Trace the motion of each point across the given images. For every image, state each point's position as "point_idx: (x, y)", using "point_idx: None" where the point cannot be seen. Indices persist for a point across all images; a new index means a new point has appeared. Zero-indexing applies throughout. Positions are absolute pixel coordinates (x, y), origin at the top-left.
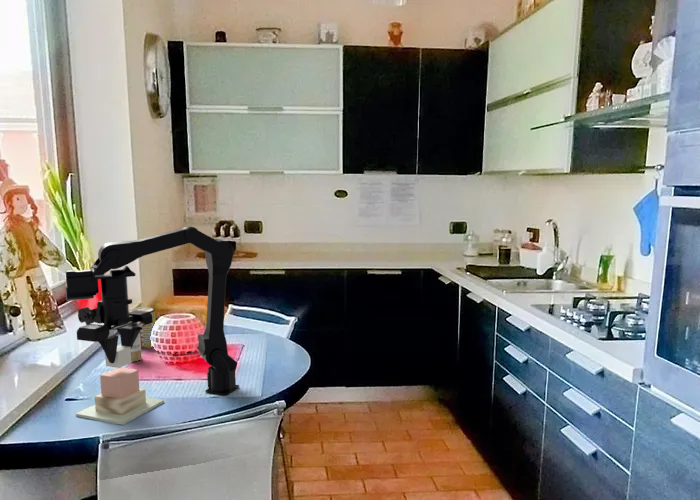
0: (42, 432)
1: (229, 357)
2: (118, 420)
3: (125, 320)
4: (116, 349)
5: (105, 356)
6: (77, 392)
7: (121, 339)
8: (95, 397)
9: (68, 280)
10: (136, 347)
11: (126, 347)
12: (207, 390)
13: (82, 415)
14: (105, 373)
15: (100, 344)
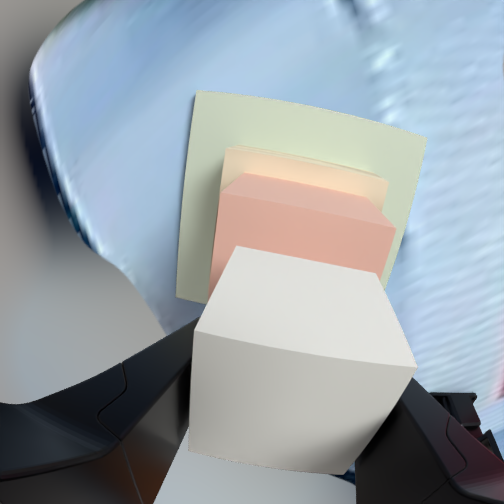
0: (81, 91)
1: None
2: (182, 278)
3: None
4: (169, 461)
5: (215, 287)
6: None
7: (423, 461)
8: (226, 152)
9: None
10: None
11: (318, 465)
12: (433, 397)
13: (193, 122)
14: (257, 210)
15: (47, 397)
